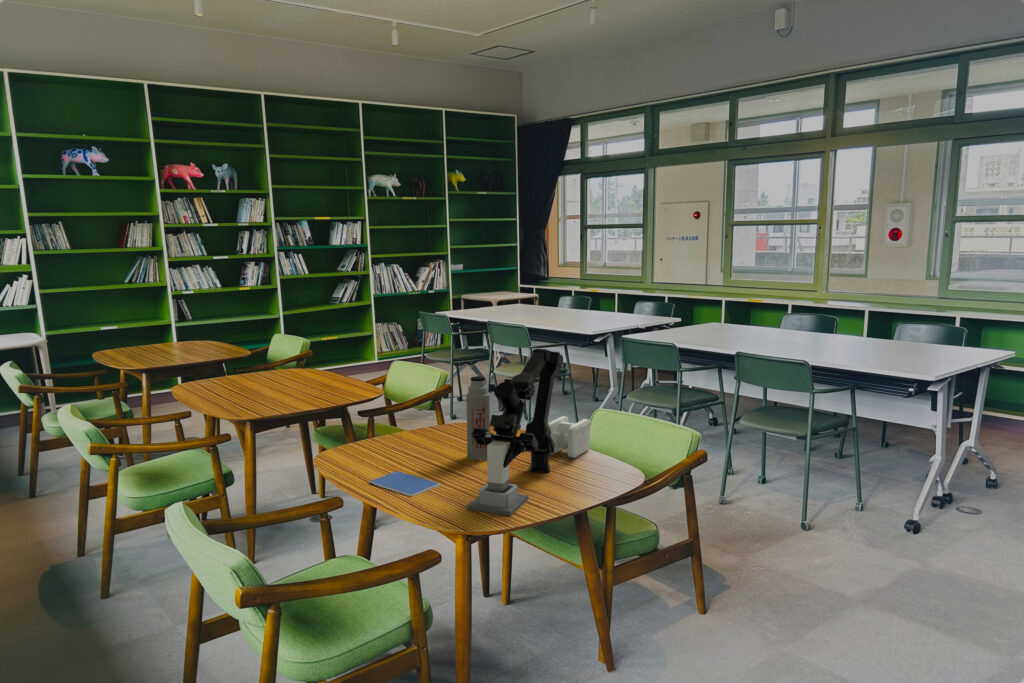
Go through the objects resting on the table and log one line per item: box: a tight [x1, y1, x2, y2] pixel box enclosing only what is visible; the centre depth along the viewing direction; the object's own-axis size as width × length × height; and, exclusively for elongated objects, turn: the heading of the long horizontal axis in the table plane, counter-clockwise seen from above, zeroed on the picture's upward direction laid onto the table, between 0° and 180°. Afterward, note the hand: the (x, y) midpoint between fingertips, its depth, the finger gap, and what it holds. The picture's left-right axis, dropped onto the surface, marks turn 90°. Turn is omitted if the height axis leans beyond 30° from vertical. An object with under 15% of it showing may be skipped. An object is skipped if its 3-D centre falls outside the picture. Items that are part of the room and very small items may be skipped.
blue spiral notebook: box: [368, 470, 441, 497], centre depth 206 cm, size 19×13×1 cm, turn 53°
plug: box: [486, 441, 510, 491], centre depth 188 cm, size 4×4×12 cm
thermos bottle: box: [465, 375, 491, 462], centre depth 229 cm, size 8×8×28 cm
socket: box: [466, 482, 530, 516], centre depth 189 cm, size 13×13×5 cm
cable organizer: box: [548, 415, 592, 459], centre depth 235 cm, size 15×11×12 cm
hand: (496, 466), depth 186 cm, fingers closed on plug, 4 cm apart
